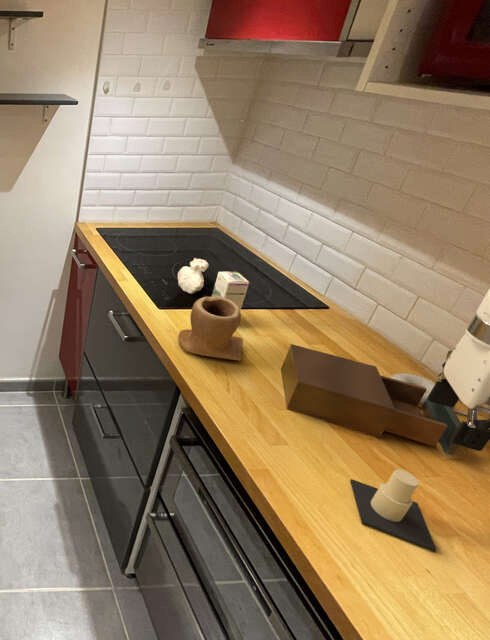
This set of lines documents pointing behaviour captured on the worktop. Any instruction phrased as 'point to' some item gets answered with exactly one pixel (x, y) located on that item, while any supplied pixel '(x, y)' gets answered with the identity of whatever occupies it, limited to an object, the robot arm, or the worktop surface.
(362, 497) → the mat
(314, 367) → the cabinet
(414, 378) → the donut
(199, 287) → the white lumpy blob
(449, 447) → the drawer
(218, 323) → the stone cup
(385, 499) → the cream stepped cylinder
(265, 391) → the worktop surface
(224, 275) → the syrup box
